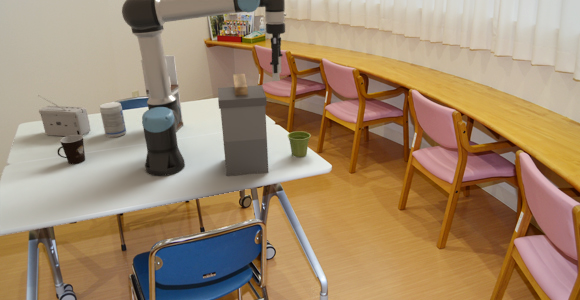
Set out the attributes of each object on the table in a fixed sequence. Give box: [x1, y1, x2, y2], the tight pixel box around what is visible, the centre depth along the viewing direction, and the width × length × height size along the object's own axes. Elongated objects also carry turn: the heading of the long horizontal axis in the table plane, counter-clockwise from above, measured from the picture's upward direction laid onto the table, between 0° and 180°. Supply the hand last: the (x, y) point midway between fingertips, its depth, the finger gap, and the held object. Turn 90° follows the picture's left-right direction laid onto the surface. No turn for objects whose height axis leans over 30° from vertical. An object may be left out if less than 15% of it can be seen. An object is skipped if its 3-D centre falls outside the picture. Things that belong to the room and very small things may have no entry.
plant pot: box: [287, 131, 311, 158], centre depth 186 cm, size 9×9×9 cm
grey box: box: [217, 84, 270, 177], centre depth 173 cm, size 17×17×30 cm
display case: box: [140, 54, 184, 133], centre depth 213 cm, size 11×11×35 cm
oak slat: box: [232, 73, 248, 95], centre depth 173 cm, size 4×20×3 cm, turn 8°
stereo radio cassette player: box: [37, 95, 91, 137], centre depth 213 cm, size 21×8×20 cm, turn 77°
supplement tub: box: [99, 101, 127, 138], centre depth 212 cm, size 10×10×15 cm
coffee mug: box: [57, 135, 86, 165], centre depth 185 cm, size 12×9×10 cm
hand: (277, 76), depth 183 cm, fingers open, 13 cm apart
